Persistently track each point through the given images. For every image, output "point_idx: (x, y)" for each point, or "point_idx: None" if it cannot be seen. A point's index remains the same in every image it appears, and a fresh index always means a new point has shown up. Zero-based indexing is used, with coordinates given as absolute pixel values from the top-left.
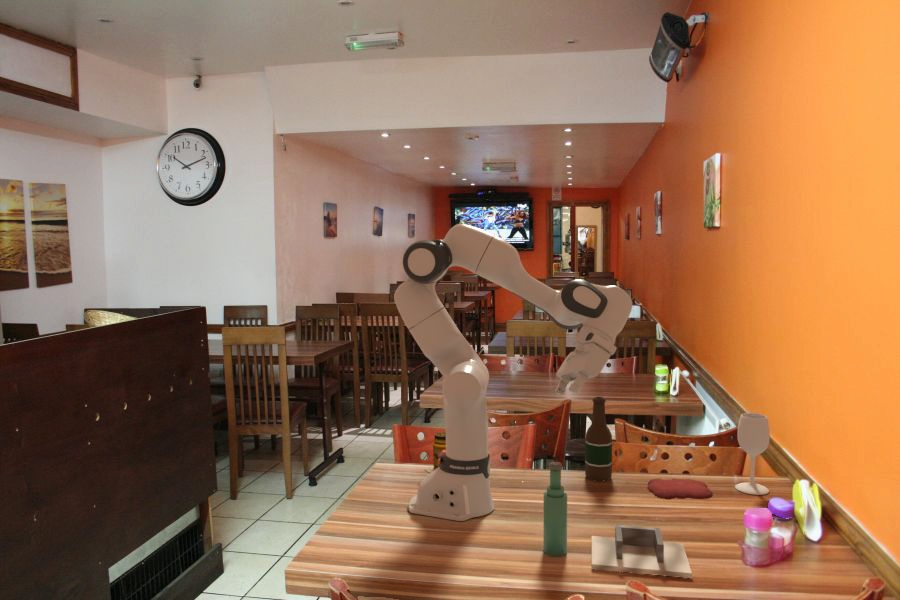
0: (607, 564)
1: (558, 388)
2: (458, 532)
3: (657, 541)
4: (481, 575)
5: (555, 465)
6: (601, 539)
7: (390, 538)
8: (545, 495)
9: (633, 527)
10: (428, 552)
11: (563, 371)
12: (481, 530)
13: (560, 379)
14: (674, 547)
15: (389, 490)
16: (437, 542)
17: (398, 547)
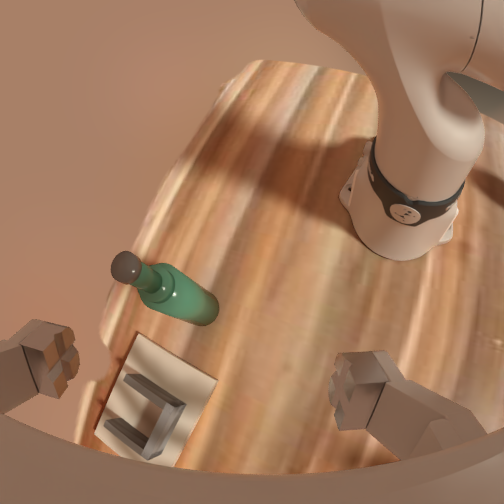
0: (131, 352)
1: (351, 367)
2: (301, 187)
3: (112, 425)
4: (175, 198)
5: (115, 262)
6: (199, 388)
7: (298, 114)
8: (162, 265)
9: (157, 427)
10: (249, 148)
11: (449, 473)
12: (301, 219)
13: (454, 419)
14: None
15: None
16: (275, 159)
17: (271, 121)
